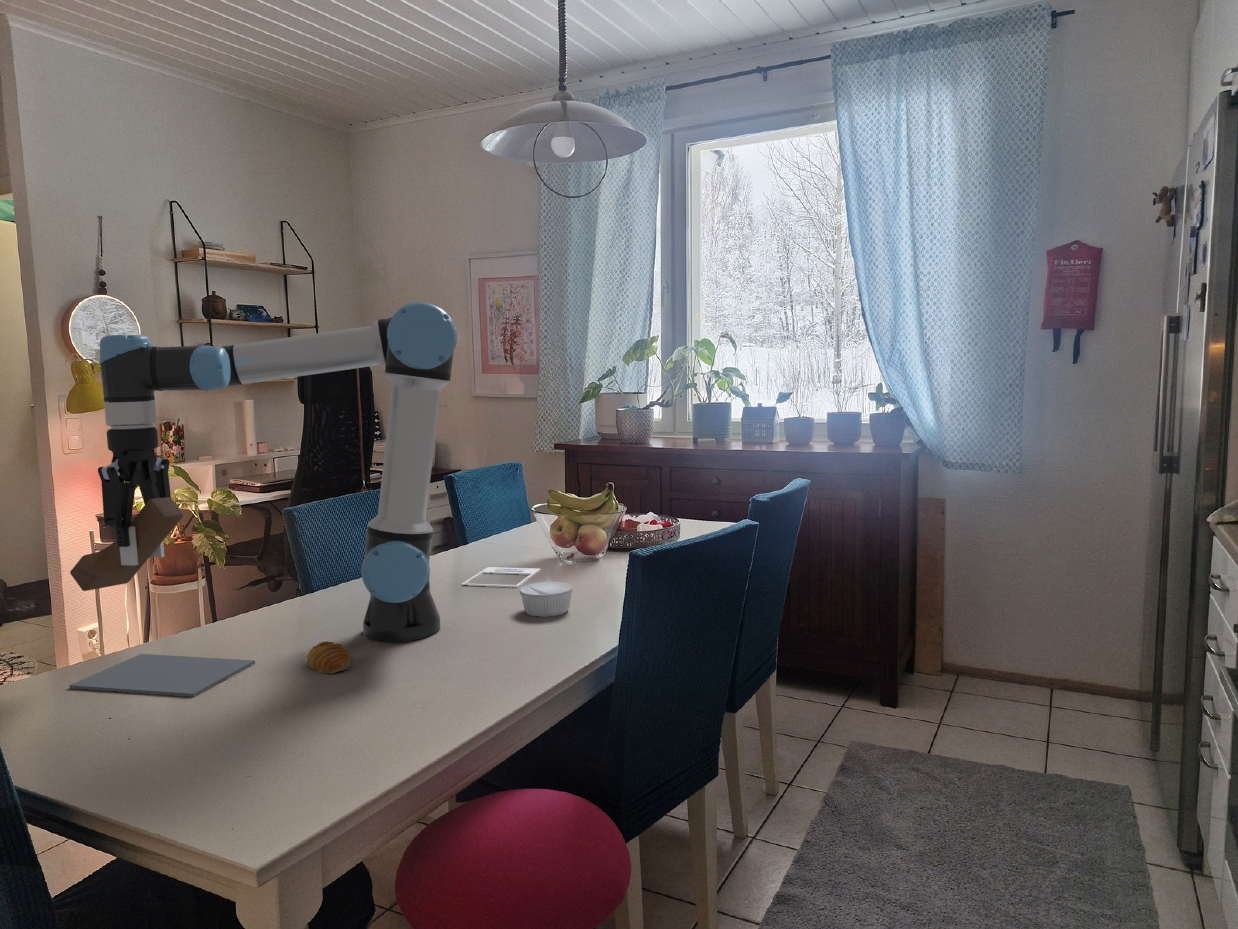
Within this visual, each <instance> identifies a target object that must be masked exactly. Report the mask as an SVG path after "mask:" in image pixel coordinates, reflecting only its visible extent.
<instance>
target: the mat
mask: <svg viewBox="0 0 1238 929" xmlns="http://www.w3.org/2000/svg"><path fill="white" fill-rule="evenodd" d="M252 664H254V665H255V664H256V660H253V659H237V658H220V657H219V658H217V657H216V658H215V657H202V656H201V657H200V656H186V655H185V656H184V655H183V656H182V655H171V654H170V655H168V654H167V655H166V654H150V653H148V654H147V653H139V654H138V655H136V656H133V657H130V658H128V659H126V660H124V661H121V662H119V663H117V664H115V665H113V666H112V665H111V667H108V668H105V669H104V670H102V671H99V672H97V673H94V674H92V675H90V676H87V677H84V678H83V679H80V680H78V681H76V682H74V683H71V684H69V689H73V690H82V689H85V690H84V691H97V690H99V691H98V692H111V691H119V692H118V693H125V692H130V693H129V694H140V693H142V695H143V694H144V695H155V696H157V695H158V696H168V695H174V696H173V697H183V698H195V697H197V696H199V695H200V694H202V693H204V692H207V691H208V690H209V688H210V689H212V688H214V687H215V686H216V685H215V684H217V685H219V684H220V683H219V682H221V681H222V682H224V681H226V680H228V679H230V678H231V676H232V675H233V676H235V675H237V674H239V673H241V672H243V671H244V670H246V669H248V668H250V667H251V665H252ZM252 666H253V665H252ZM247 667H248V668H247ZM245 668H246V669H245ZM242 670H243V671H242ZM240 671H241V672H240ZM238 672H239V673H238ZM236 673H237V674H236ZM234 674H235V675H234ZM233 676H232V677H233ZM229 677H230V678H229ZM227 678H228V679H227ZM225 679H226V680H225ZM222 682H221V683H222ZM218 683H219V684H218ZM214 685H215V686H214ZM86 689H88V690H86ZM207 689H208V690H207ZM100 690H101V691H100ZM120 691H122V692H120ZM203 691H204V692H203ZM196 695H197V696H196ZM185 696H187V697H185Z"/></svg>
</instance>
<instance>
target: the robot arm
mask: <svg viewBox="0 0 1238 929" xmlns="http://www.w3.org/2000/svg"><path fill="white" fill-rule="evenodd" d="M457 340H458V332H457V328H456V325H455V322H454V320H453V319H452V318H451V316H450V315H449V314H448V312H447V311H446V310H444V308H442V307H439V306H438V305H435V304H433V303H429V302H419V301H417V302H411V303H408V304H406V305H404V306H402V307H400V308H399V309H398V310H396V312H394V314H393V316H392V317H387V318H382V319H376V320H375V321H374V322H373V323H372V325H369V326H362V327H356V328H355V327H353V328H347V329H341V330H335V331H334V330H331V331H325V332H318V333H312V334H311V333H310V334H304V335H298V336H290V337H282V338H275V339H268V340H267V339H266V340H261V341H253V342H247V343H239V344H233V345H223V346H222V345H221V346H217V345H216V346H211V345H201V344H200V345H191V346H189V345H188V346H187V345H186V346H185V345H184V346H162V347H161V346H152V343H151V340H150V337H149V336H147V335H144V334H142V335H141V334H110V335H104V336H103V337H101V338H100V340H99V367H100V376H101V383H102V394H103V402H104V403H103V404H104V405H103V406H104V416H105V424H106V426H107V427H110V428H108V429H107V431H106V439H107V440H106V442H107V450H109V451H111V452H112V458H111V463H110V464H109V465H106V466H99V467H98V469H97V473H98V476H99V478H100V481H101V493H102V494H101V496H102V511H103V523H104V526H106V527H108V526H109V528H115V534H116V535H115V536H116V539H117V545H118V547H120V557H121V565H138V555H137V544H136V532H135V527H130V525H131V522H132V516H133V509H134V500H135V494H136V493H135V492H136V488H139V491H140V494H141V497H142V500H143V503H144V504H143V505H145V504H146V503H147V502H148V501H149V500H150V499H154V498H167V497H169V498H171V499H172V496H171V486H170V476H169V469H170V462H171V461H170V460H169V459H168V458H158V457H157V454H156V453H155V450H156V449H157V448H159V434H158V429H157V428H156V427H155V426H154V425H155V424H156V423H157V422H158V419H157V408H156V401H155V400H156V399H155V398H156V397H155V391H156V392H157V391H158V392H164V391H205V392H208V391H214V390H223V389H226V388H228V387H235V386H236V387H237V386H242V385H249V384H254V383H262V382H267V381H268V382H269V381H277V380H283V379H290V378H297V377H304V376H305V377H306V376H311V375H318V374H325V373H331V372H340V371H346V370H352V369H353V370H354V369H359V368H361V369H362V368H366V367H367V368H368V367H374V366H375V367H376V366H379V367H381V368H383V369H384V376H386V378H387V379H388V381H390V384H391V393H390V400H389V401H390V402H389V410H388V419H387V420H388V421H387V428H386V429H387V430H386V437H385V438H386V439H385V448H384V455H383V456H384V457H383V463H382V464H383V465H382V476H381V481H380V482H381V483H380V491H379V501H378V502H379V503H378V510H377V515H376V516H375V517H374V518H372V520H370V521H368V523H367V526H366V533H365V536H366V540H365V549H364V558H363V561H362V563H361V567H360V568H361V569H360V575H361V579H362V582H363V584H364V587H365V588H366V590H367V591H368V592H369V595H370V597H369V601H368V604H367V608H366V612H365V616H364V618H363V622H362V631H363V632H362V634H363V637H364V638H366V640H370V641H374V642H381V643H400V642H408V641H409V642H411V641H416V640H420V639H424V638H427V637H430V636H432V635H434V634H436V633H438V632H439V631H440V630H441V618H440V614H439V611H438V609H437V606H436V603H435V601H434V599H433V598H434V597H433V595H432V593H431V586H430V584H431V583H430V574H431V573H430V572H431V568H430V557H431V550H432V549H431V548H432V540H433V532H434V528H433V527H432V526H431V524H430V523H429V522H428V521H427V512H428V511H427V510H428V502H429V494H430V485H431V477H432V476H431V475H432V468H433V459H434V458H433V456H434V450H435V441H436V433H437V424H438V414H439V407H440V400H441V399H440V397H441V391H442V390H443V389H444V388H446V386H448V385H449V384H450V383H451V378H452V368H453V362H454V361H453V360H454V353H455V352H454V351H455V348H456V346H457ZM164 546H165V544H164V540H163V541H162V543H161V544H160V545H159V546H158V547H157V549H156V550H155V551H154V552H153V553H152V555H151V556H150V557H149V558H164V557H165V547H164Z"/></svg>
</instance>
